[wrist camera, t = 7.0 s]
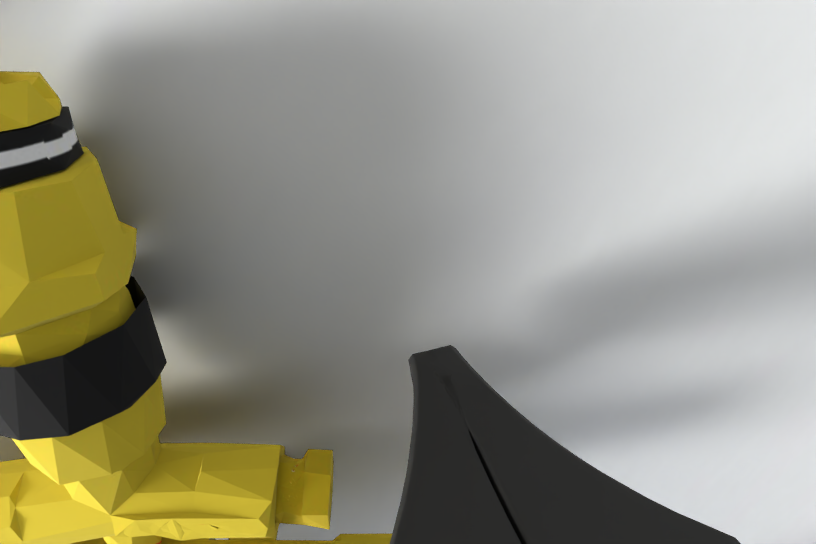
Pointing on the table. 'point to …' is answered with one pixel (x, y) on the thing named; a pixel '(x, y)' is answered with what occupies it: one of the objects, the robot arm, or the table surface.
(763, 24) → the table surface
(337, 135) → the table surface
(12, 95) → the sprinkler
